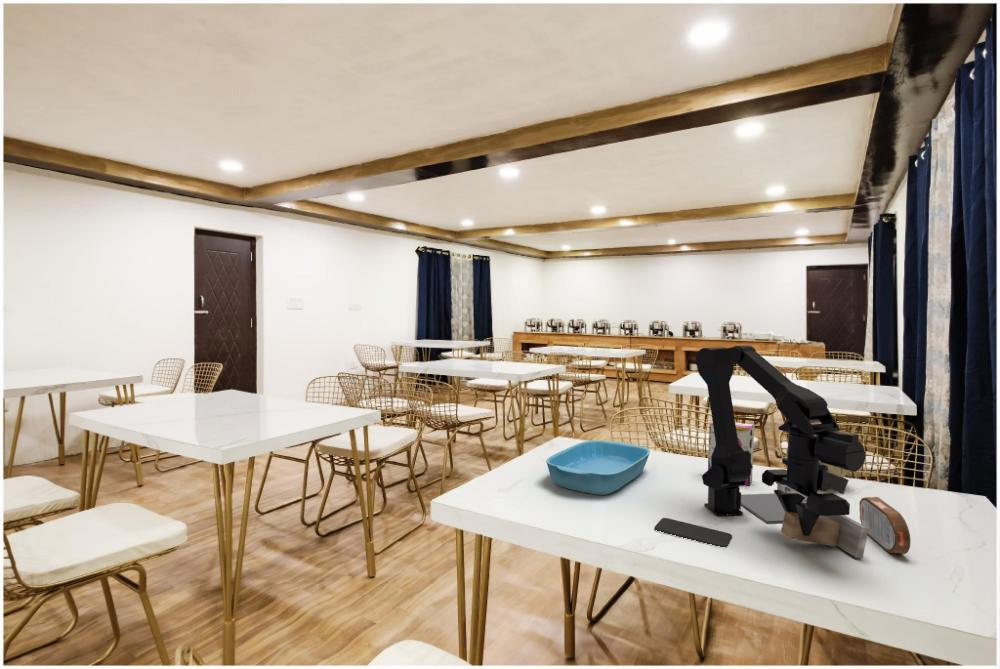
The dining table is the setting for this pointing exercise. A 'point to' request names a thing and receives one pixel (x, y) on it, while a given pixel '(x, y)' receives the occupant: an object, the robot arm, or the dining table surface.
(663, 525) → the phone
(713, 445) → the candy bar box
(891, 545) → the tin
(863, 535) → the t-shaped pusher tool
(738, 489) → the robot arm
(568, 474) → the casserole dish
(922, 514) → the dining table surface
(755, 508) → the tool mat
